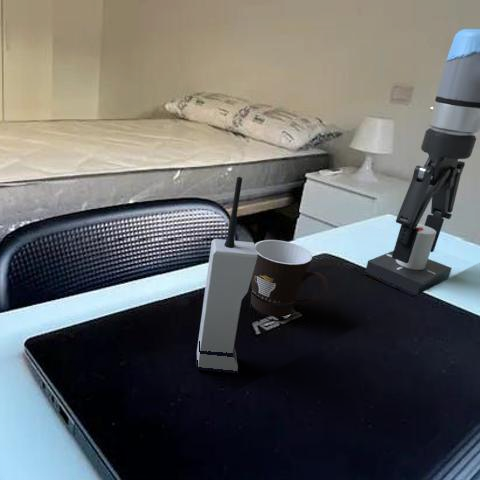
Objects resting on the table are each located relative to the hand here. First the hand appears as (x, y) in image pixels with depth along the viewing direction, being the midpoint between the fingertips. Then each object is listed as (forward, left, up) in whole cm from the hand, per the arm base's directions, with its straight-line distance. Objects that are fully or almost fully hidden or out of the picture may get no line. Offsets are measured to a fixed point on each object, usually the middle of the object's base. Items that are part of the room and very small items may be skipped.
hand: (413, 254), depth 91 cm
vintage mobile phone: (0, +49, -5) cm, 49 cm away
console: (0, 0, -5) cm, 5 cm away
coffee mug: (+4, +32, -5) cm, 33 cm away
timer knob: (0, 0, -2) cm, 2 cm away
